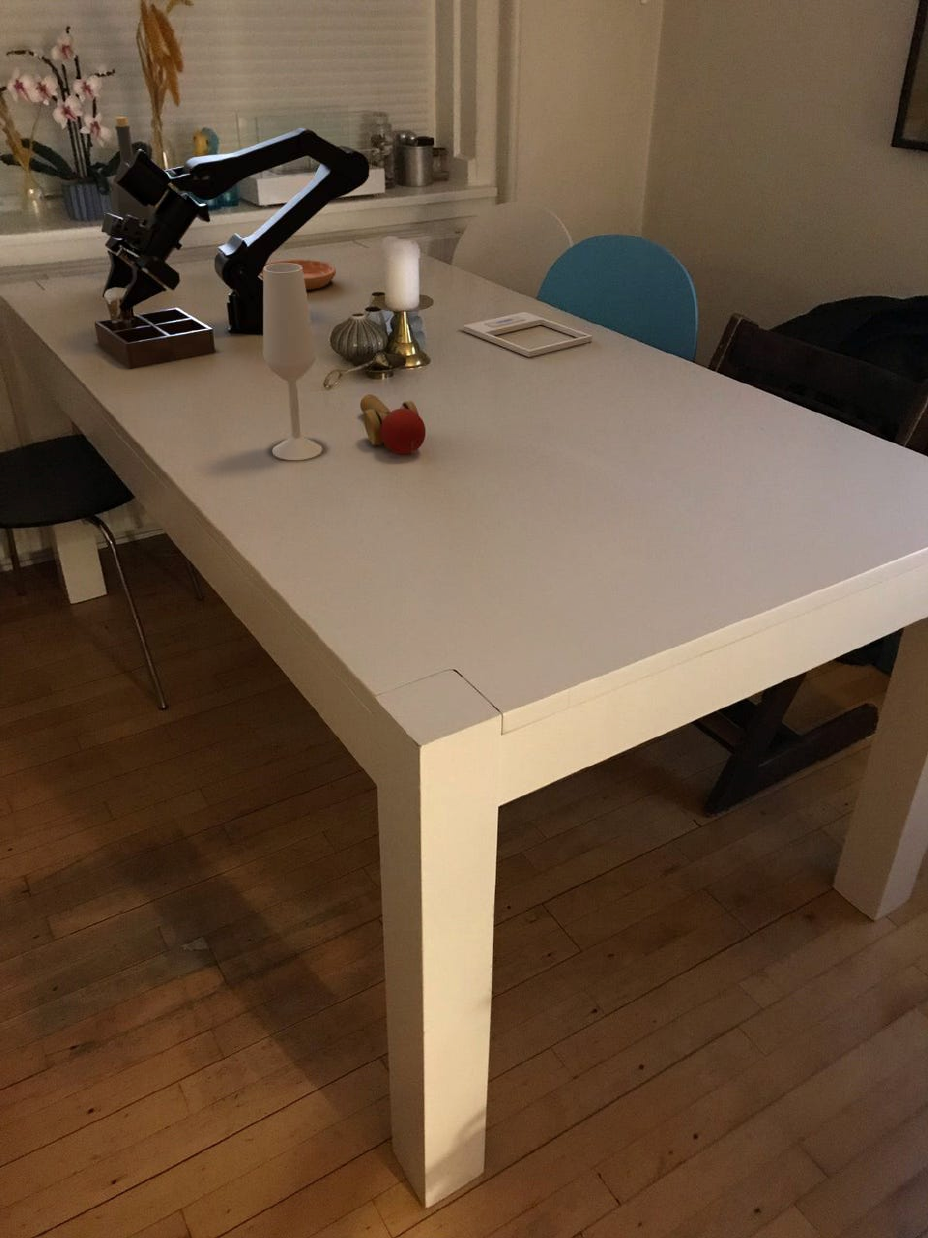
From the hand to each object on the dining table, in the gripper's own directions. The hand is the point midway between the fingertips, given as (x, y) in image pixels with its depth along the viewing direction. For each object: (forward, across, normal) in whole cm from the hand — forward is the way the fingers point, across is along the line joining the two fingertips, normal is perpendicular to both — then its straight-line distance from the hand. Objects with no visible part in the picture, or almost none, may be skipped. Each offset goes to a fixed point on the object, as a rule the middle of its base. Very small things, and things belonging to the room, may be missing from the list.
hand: (112, 303), depth 171 cm
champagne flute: (+2, +55, +8) cm, 56 cm away
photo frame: (-38, +33, +49) cm, 70 cm away
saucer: (-26, -20, +37) cm, 50 cm away
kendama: (-7, +58, +17) cm, 61 cm away
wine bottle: (-9, -42, +20) cm, 47 cm away
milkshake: (+4, 0, +6) cm, 7 cm away
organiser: (+2, +4, +9) cm, 10 cm away
